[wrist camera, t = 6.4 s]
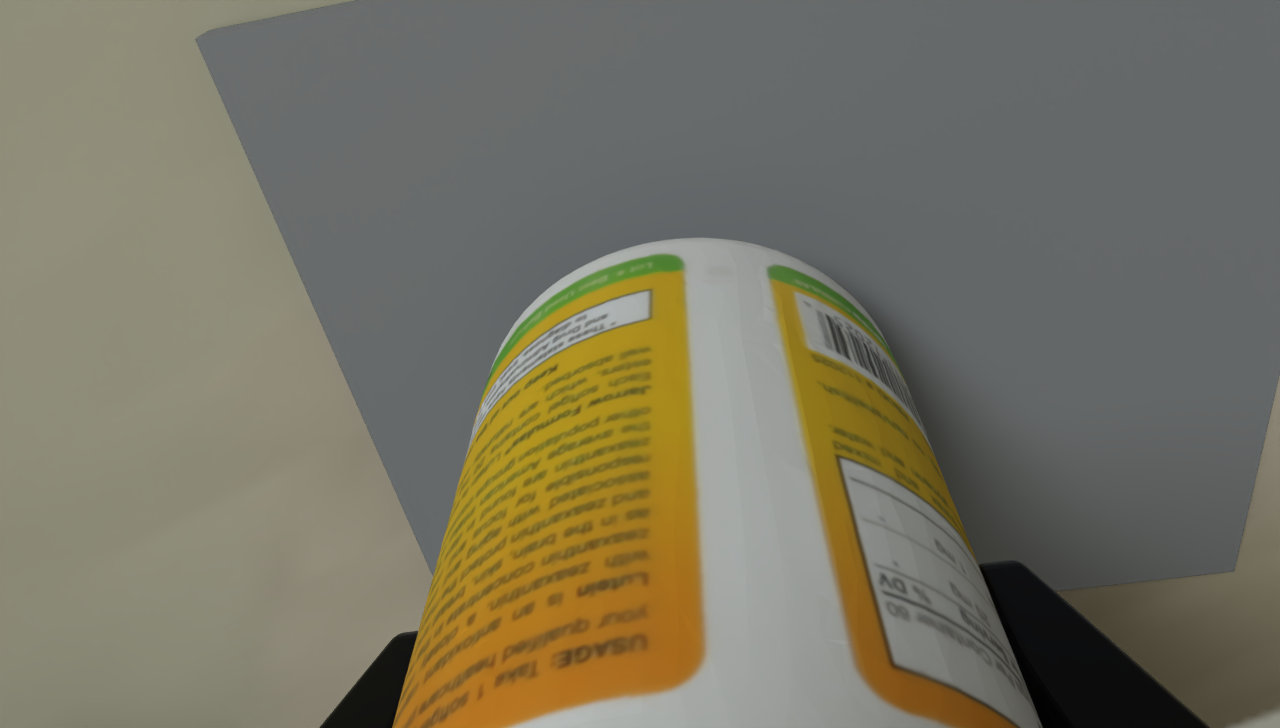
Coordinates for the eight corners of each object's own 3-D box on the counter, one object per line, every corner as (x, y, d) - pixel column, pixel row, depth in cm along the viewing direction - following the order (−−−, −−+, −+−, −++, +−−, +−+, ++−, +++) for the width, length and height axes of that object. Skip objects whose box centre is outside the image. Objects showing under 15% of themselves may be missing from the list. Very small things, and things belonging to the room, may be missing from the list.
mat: (1221, 553, 15) (1233, 571, 15) (472, 639, 17) (468, 657, 17) (1387, -210, 9) (1413, -208, 9) (209, 30, 11) (195, 38, 11)
